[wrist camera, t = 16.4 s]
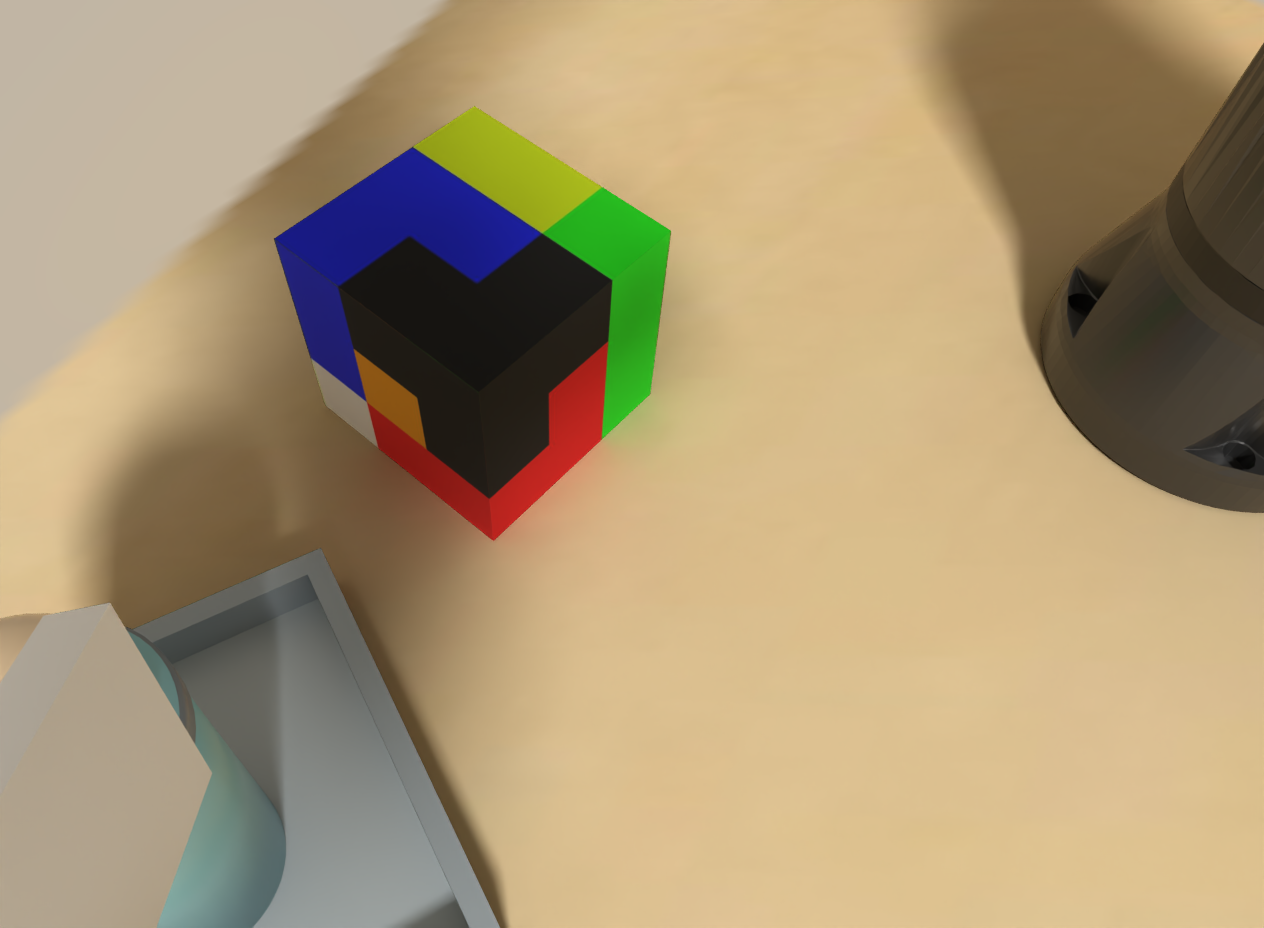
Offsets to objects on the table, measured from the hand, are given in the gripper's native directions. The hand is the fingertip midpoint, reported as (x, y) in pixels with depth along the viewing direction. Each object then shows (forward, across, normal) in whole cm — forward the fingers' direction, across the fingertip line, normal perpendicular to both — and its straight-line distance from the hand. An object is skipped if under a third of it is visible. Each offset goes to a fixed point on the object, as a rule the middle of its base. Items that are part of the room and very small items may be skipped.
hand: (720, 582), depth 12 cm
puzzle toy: (+32, -8, -14) cm, 36 cm away
